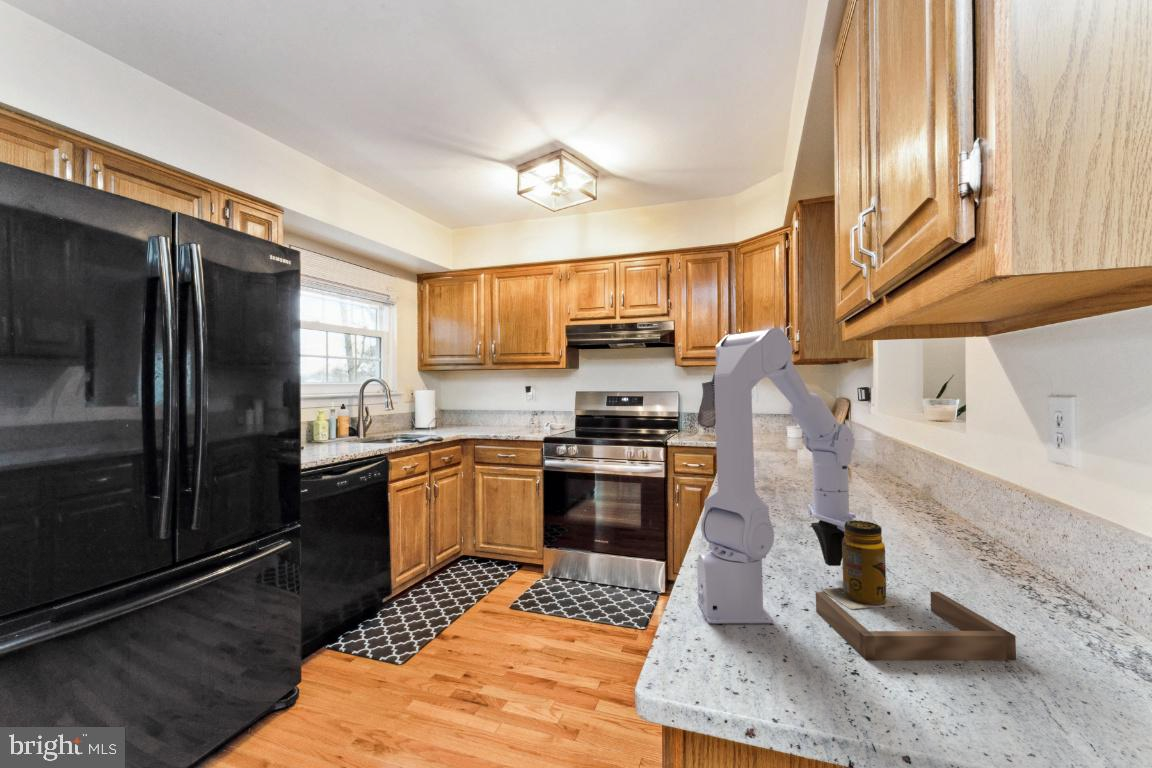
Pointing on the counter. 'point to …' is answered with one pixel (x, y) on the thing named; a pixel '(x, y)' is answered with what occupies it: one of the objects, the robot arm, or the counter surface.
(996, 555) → the counter surface
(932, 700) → the counter surface
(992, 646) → the box
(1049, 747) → the counter surface
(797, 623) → the counter surface
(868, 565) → the condiment
